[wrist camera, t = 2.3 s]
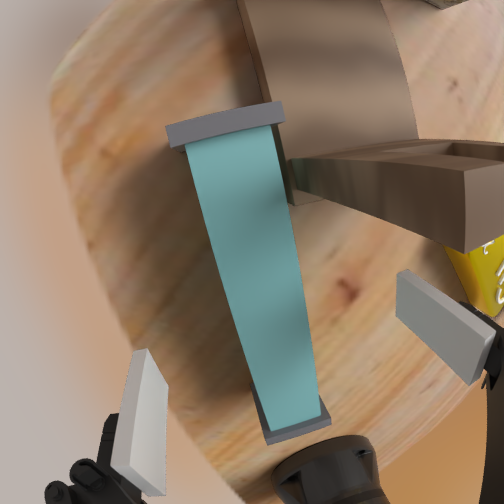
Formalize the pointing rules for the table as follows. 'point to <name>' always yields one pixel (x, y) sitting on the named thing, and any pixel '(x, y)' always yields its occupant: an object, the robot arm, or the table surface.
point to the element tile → (482, 275)
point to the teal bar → (256, 259)
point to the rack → (366, 124)
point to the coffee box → (445, 3)
